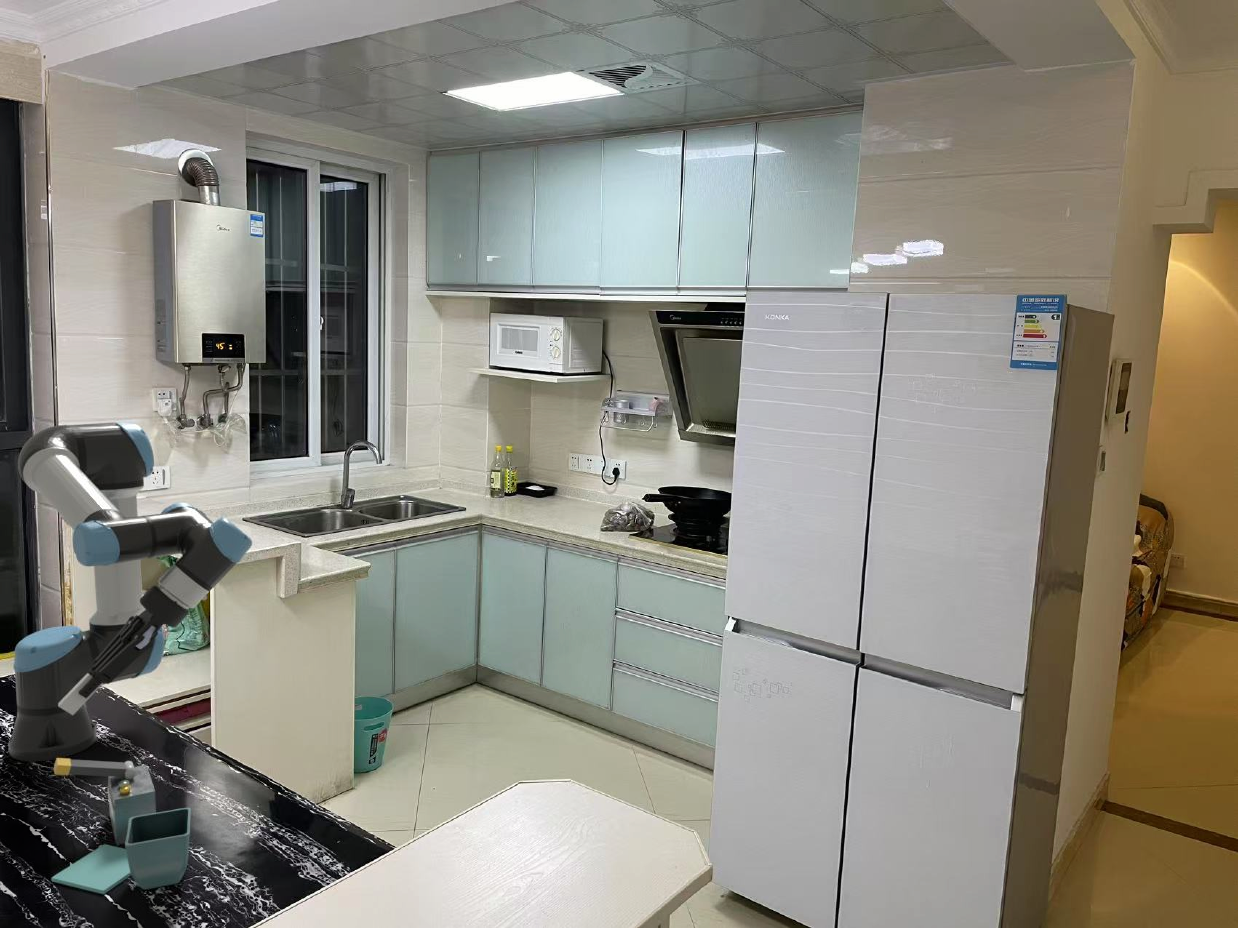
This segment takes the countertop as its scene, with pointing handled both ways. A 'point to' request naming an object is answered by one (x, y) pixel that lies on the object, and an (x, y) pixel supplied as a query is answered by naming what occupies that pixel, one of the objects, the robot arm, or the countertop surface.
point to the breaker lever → (94, 768)
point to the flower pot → (158, 847)
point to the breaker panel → (130, 800)
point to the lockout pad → (97, 870)
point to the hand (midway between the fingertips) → (65, 709)
